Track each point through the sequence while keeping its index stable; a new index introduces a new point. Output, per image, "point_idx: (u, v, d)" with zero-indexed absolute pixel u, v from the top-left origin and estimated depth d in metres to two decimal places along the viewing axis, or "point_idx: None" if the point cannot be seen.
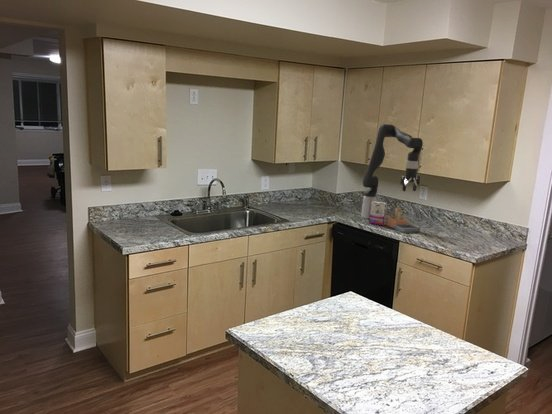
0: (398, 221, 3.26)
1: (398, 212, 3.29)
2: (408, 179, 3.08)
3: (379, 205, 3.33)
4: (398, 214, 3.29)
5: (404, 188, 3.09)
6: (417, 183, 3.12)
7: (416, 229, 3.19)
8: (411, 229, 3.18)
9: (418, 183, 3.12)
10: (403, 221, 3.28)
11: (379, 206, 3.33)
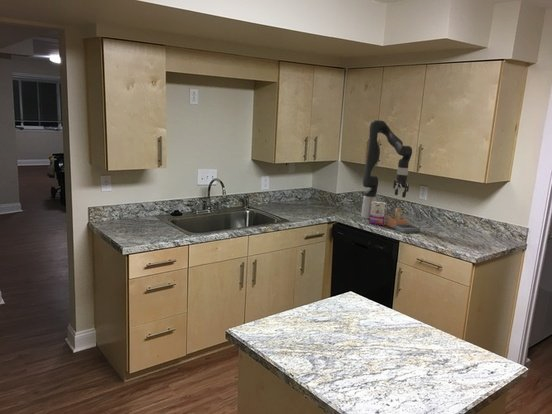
0: (398, 221, 3.26)
1: (398, 212, 3.29)
2: (404, 185, 3.25)
3: (379, 205, 3.33)
4: (398, 214, 3.29)
5: None
6: None
7: (416, 229, 3.19)
8: (411, 229, 3.18)
9: None
10: (403, 221, 3.28)
11: (379, 206, 3.33)
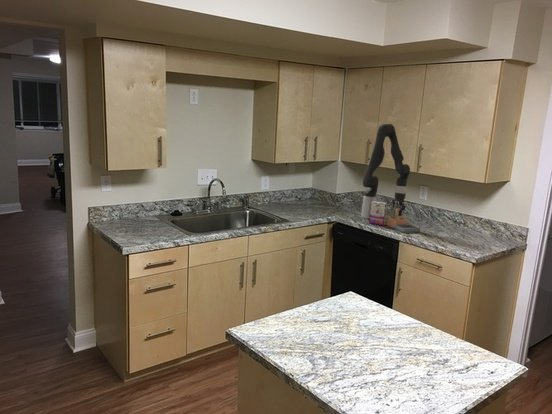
0: (398, 221, 3.26)
1: (398, 212, 3.29)
2: None
3: (379, 205, 3.33)
4: None
5: None
6: (396, 206, 3.34)
7: (416, 229, 3.19)
8: (411, 229, 3.18)
9: None
10: (403, 221, 3.28)
11: (379, 206, 3.33)
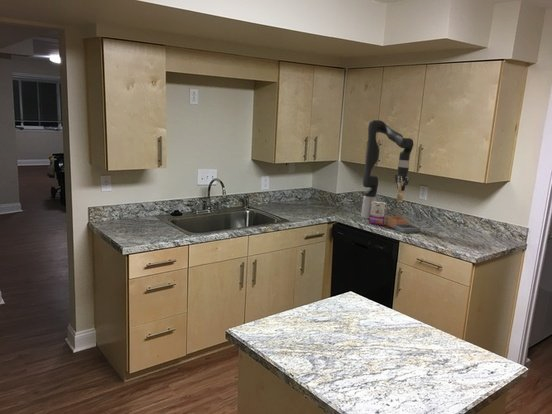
0: (398, 221, 3.26)
1: (401, 187, 3.25)
2: None
3: (379, 205, 3.33)
4: None
5: None
6: None
7: (416, 229, 3.19)
8: (411, 229, 3.18)
9: None
10: (403, 221, 3.28)
11: (379, 206, 3.33)
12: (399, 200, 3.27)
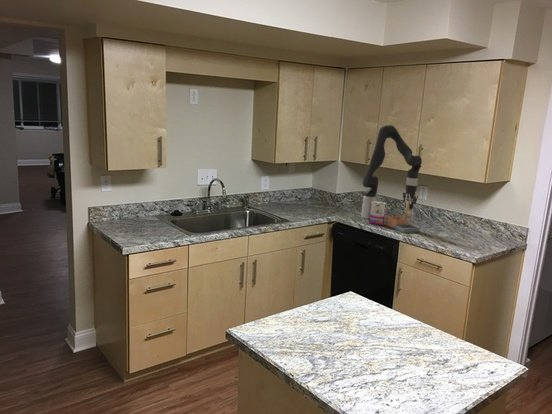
0: (398, 221, 3.26)
1: (409, 205, 3.18)
2: None
3: (379, 205, 3.33)
4: None
5: None
6: None
7: (416, 229, 3.19)
8: (411, 229, 3.18)
9: None
10: (403, 221, 3.28)
11: (379, 206, 3.33)
12: (407, 219, 3.20)
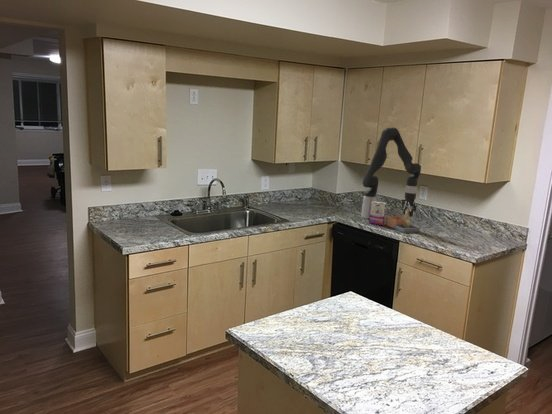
0: (398, 221, 3.26)
1: (408, 214, 3.19)
2: None
3: (379, 205, 3.33)
4: (408, 216, 3.19)
5: None
6: None
7: (416, 229, 3.19)
8: (411, 229, 3.18)
9: None
10: (403, 221, 3.28)
11: (379, 206, 3.33)
12: (406, 227, 3.21)
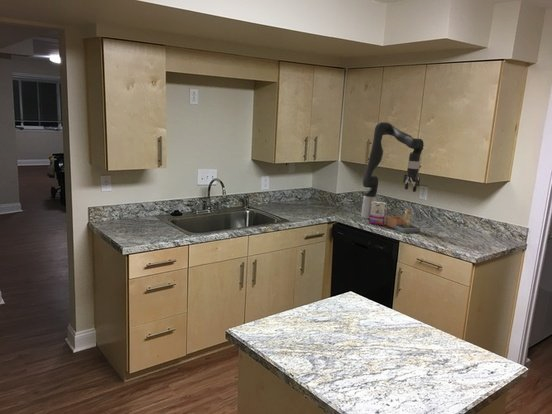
0: (398, 221, 3.26)
1: (408, 214, 3.19)
2: (415, 179, 3.15)
3: (379, 205, 3.33)
4: (408, 216, 3.19)
5: (415, 189, 3.15)
6: None
7: (416, 229, 3.19)
8: (411, 229, 3.18)
9: None
10: (403, 221, 3.28)
11: (379, 206, 3.33)
12: (406, 227, 3.21)
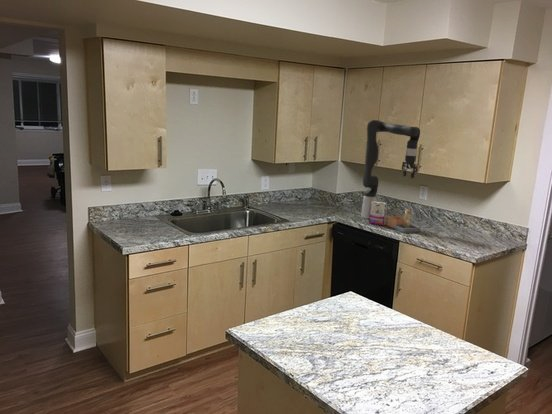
0: (398, 221, 3.26)
1: (408, 214, 3.19)
2: None
3: (379, 205, 3.33)
4: (408, 216, 3.19)
5: (413, 175, 3.27)
6: None
7: (416, 229, 3.19)
8: (411, 229, 3.18)
9: None
10: (403, 221, 3.28)
11: (379, 206, 3.33)
12: (406, 227, 3.21)
